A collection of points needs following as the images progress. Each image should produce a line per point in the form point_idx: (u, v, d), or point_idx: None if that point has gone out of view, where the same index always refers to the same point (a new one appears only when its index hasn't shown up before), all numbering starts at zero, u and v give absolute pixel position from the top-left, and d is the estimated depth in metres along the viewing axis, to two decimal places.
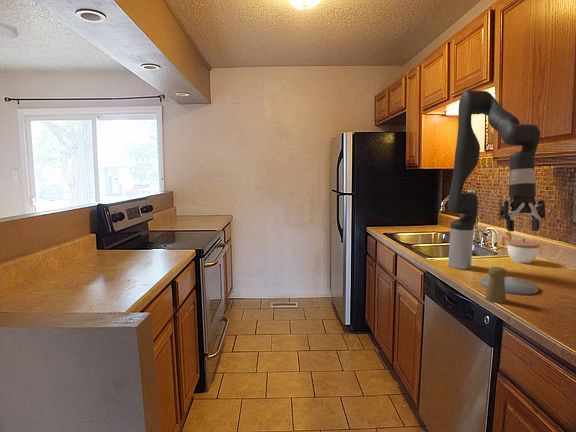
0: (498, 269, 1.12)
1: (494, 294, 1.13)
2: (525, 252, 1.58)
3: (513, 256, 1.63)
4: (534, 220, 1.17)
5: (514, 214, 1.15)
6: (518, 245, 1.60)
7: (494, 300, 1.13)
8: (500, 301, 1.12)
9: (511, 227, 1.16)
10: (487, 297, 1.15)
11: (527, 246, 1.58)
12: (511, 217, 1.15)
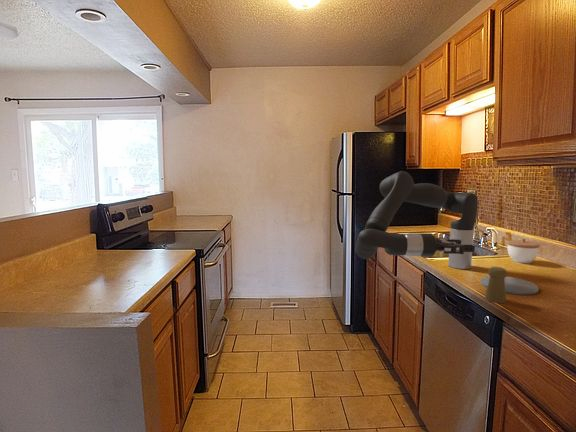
0: (498, 269, 1.12)
1: (494, 294, 1.13)
2: (525, 252, 1.58)
3: (513, 256, 1.63)
4: None
5: None
6: (518, 245, 1.60)
7: (494, 300, 1.13)
8: (500, 301, 1.12)
9: None
10: (487, 297, 1.15)
11: (527, 246, 1.58)
12: None
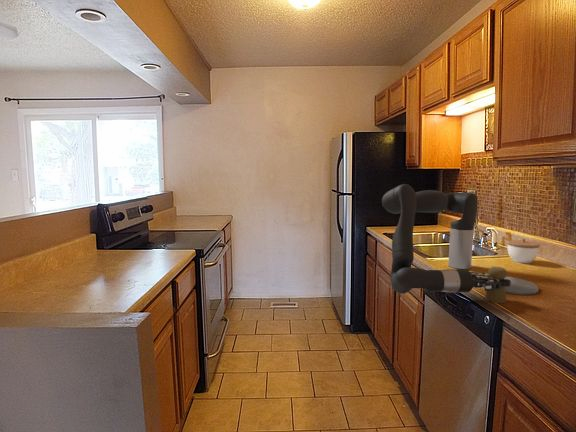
0: (498, 269, 1.12)
1: (494, 294, 1.13)
2: (525, 252, 1.58)
3: (513, 256, 1.63)
4: None
5: None
6: (518, 245, 1.60)
7: (494, 300, 1.13)
8: (500, 301, 1.12)
9: None
10: (487, 297, 1.15)
11: (527, 246, 1.58)
12: None
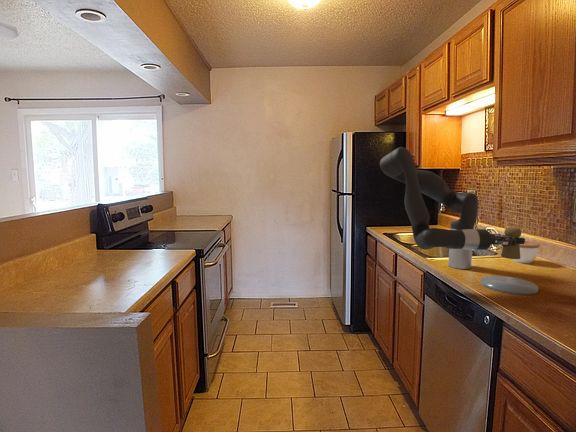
0: (514, 228, 1.24)
1: (509, 251, 1.25)
2: (525, 252, 1.58)
3: None
4: None
5: None
6: None
7: (510, 257, 1.25)
8: (515, 257, 1.24)
9: None
10: (503, 254, 1.27)
11: (527, 246, 1.58)
12: None
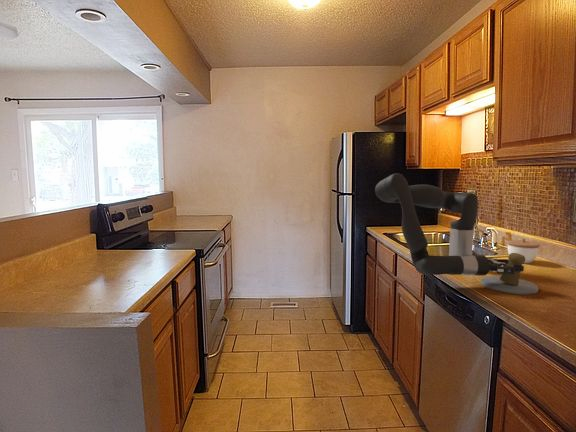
0: (518, 255, 1.24)
1: (509, 276, 1.26)
2: (525, 252, 1.58)
3: None
4: None
5: None
6: (518, 245, 1.60)
7: (508, 282, 1.26)
8: (513, 283, 1.26)
9: None
10: (502, 278, 1.28)
11: (527, 246, 1.58)
12: None
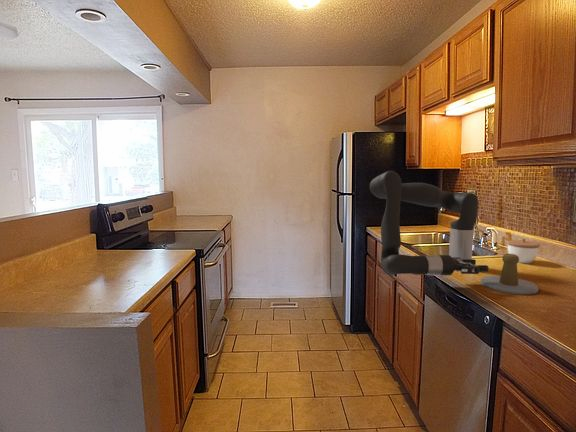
0: (511, 255, 1.26)
1: (507, 277, 1.26)
2: (525, 252, 1.58)
3: None
4: None
5: None
6: (518, 245, 1.60)
7: (507, 283, 1.26)
8: (513, 284, 1.26)
9: None
10: (501, 280, 1.28)
11: (527, 246, 1.58)
12: None
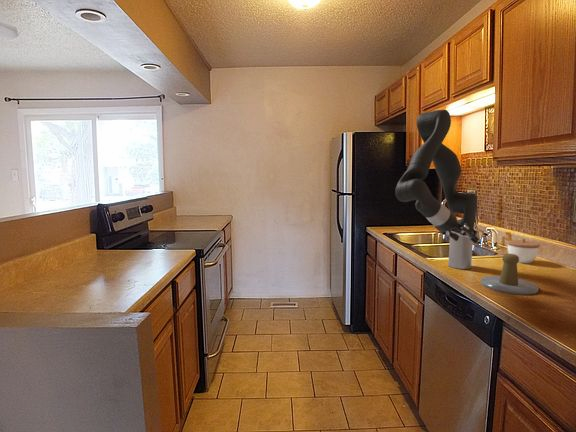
0: (511, 255, 1.26)
1: (507, 277, 1.26)
2: (525, 252, 1.58)
3: None
4: None
5: (448, 234, 1.32)
6: (518, 245, 1.60)
7: (507, 283, 1.26)
8: (513, 284, 1.26)
9: None
10: (501, 280, 1.28)
11: (527, 246, 1.58)
12: (447, 235, 1.33)
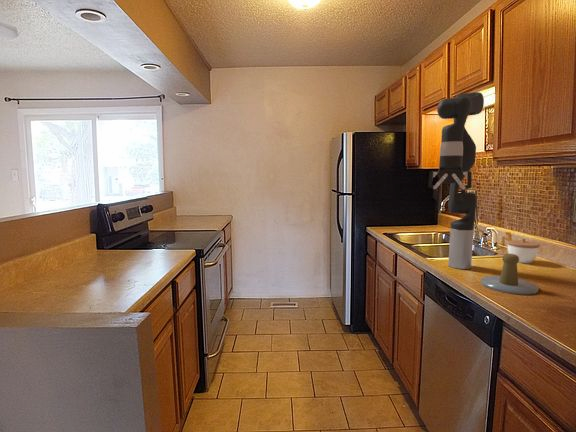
0: (511, 255, 1.26)
1: (507, 277, 1.26)
2: (525, 252, 1.58)
3: None
4: (461, 190, 1.25)
5: (437, 184, 1.27)
6: (518, 245, 1.60)
7: (507, 283, 1.26)
8: (513, 284, 1.26)
9: (434, 195, 1.28)
10: (501, 280, 1.28)
11: (527, 246, 1.58)
12: (434, 186, 1.27)
